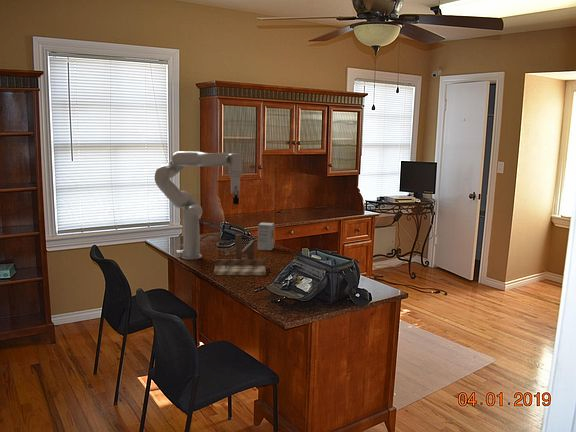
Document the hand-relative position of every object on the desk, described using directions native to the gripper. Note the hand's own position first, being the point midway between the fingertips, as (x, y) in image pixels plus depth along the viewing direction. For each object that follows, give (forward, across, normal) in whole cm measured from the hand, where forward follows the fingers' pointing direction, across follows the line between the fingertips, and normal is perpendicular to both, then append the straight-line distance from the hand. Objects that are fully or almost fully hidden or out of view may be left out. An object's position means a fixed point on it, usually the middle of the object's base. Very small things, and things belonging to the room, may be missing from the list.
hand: (235, 203), depth 300 cm
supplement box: (+35, -28, +20) cm, 49 cm away
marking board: (+35, +26, +2) cm, 43 cm away
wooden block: (+35, +11, +4) cm, 37 cm away
